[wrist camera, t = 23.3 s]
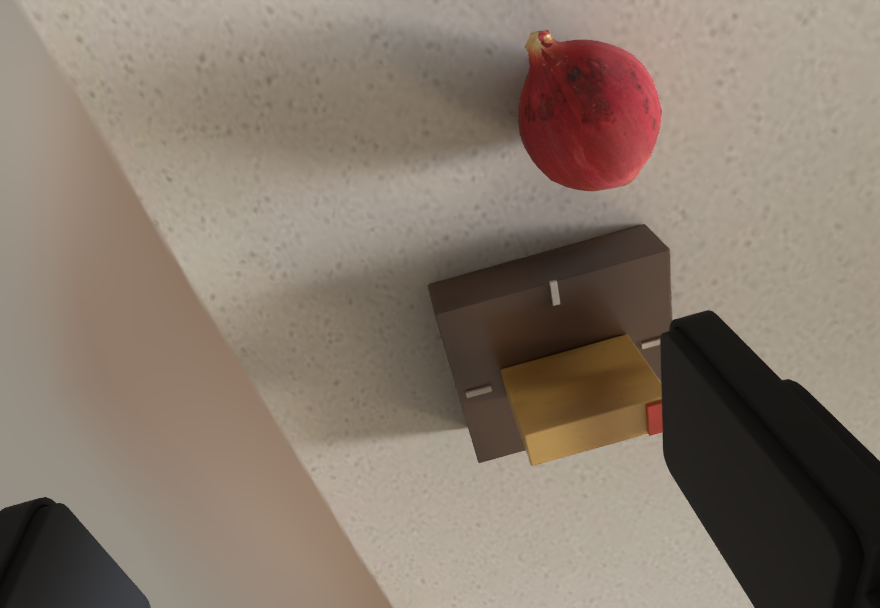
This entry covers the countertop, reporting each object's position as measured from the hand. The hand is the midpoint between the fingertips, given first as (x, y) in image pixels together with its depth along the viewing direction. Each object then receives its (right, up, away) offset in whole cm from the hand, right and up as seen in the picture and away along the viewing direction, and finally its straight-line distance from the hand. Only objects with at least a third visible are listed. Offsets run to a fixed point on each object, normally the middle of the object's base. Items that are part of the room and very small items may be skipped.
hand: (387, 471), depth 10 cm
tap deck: (+7, +1, +26) cm, 27 cm away
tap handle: (+8, -1, +24) cm, 25 cm away
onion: (+10, +8, +18) cm, 22 cm away
